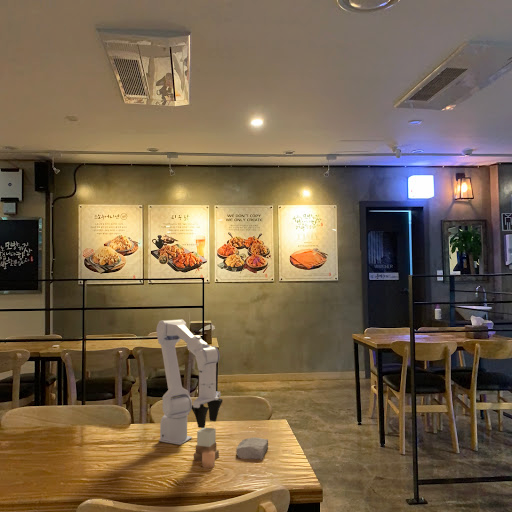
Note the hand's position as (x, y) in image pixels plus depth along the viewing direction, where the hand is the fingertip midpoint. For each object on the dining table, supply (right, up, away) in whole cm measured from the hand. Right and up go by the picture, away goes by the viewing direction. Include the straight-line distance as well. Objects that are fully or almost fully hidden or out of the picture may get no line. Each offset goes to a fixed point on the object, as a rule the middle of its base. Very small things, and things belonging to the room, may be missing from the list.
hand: (207, 424), depth 150 cm
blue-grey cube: (0, -6, -2) cm, 6 cm away
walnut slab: (0, -11, -3) cm, 11 cm away
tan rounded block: (+1, -10, -9) cm, 13 cm away
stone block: (+15, -11, +2) cm, 19 cm away
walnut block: (0, -8, -2) cm, 9 cm away
